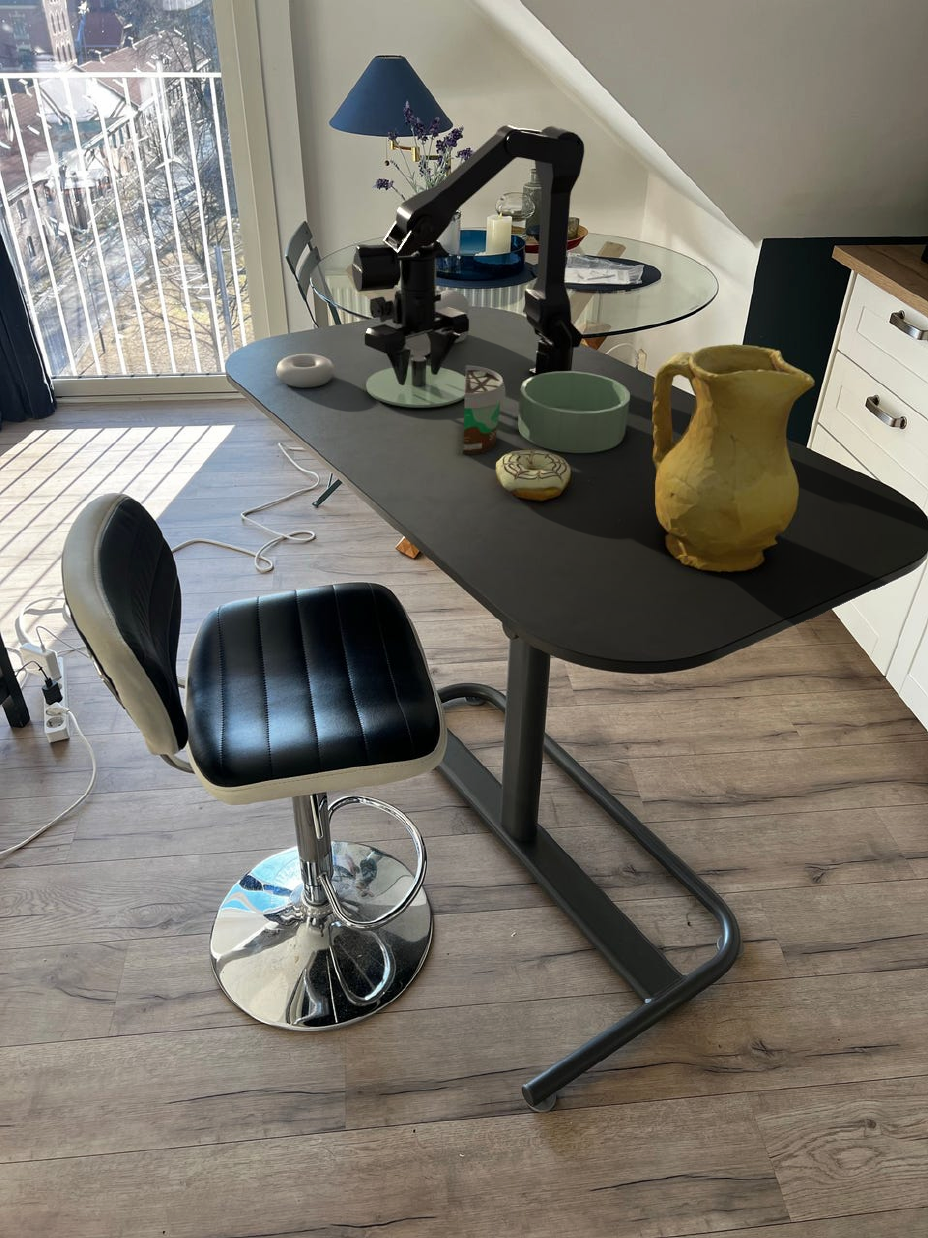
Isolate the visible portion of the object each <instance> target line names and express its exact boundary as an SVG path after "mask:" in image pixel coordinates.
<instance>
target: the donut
mask: <svg viewBox="0 0 928 1238" xmlns="http://www.w3.org/2000/svg"><path fill="white" fill-rule="evenodd" d="M334 373H335V366H334V364H333V362H332V361H331V360H330V359H328V358H327V357H325V356H323V355H319V354H316V353H315V354H314V353H313V354H312V353H297V354H293V355H292V354H291V355H289V356H286V357H284V358H282V359H281V360H280V361H279V362H278V364H277V365H276V375H277V377H278V379H279V380H280V381H281V382H282V383H284V384H286V385H288V386H291V387H294V388H315V387H319V386H322V385H325V384H327V383H328V382H329V381H331V380H332V379H333V377H334Z"/></svg>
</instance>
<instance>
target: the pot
mask: <svg viewBox="0 0 928 1238" xmlns="http://www.w3.org/2000/svg"><path fill="white" fill-rule="evenodd" d="M518 401H519V404H518V416H517V417H518V419H517V429H518V431H519V433H520V435H521V436H522V438H524V439H525V440H527V441H528V442H529V443H531V444H534V445H536V446H538V447H540V448H544V449H547V450H552V451H554V452H555V451H556V452H561V453H571V454H591V453H598V452H602V451H606V450H609V449H612V448H615V447H616V446H618V445H619V444H621V442H622V441H623V440H624V438H625V434H626V430H627V429H626V428H627V423H628V422H627V420H628V414H629V407H630V401H631V393H630V391H629V390H628V388H627V387H626V386H624V385H623V384H621V383H620V382H618V380H615V379H612V378H609V377H607V376H604V375H600V374H595V373H590V372H585V371H584V372H582V371H577V372H574V371H557V372H549V373H543V374H539V375H533V376H530V377H528V378H527V379H525V380H524V381H523V382H522V384H521V386H520V389H519V400H518Z"/></svg>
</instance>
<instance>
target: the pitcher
mask: <svg viewBox="0 0 928 1238" xmlns="http://www.w3.org/2000/svg"><path fill="white" fill-rule="evenodd" d="M676 376H682V377H683V378H685V379H687V380H688V382H689V385H690V386H691V389H692V391H693V394H694V397H695V400H694V409H693V412H692V414H691V417H690V420H689V424H688V426H687V427H686V429H685V431H684V432H683V434H682V435H681V436H680V438H678V440H677V441H674V439H673V422H672V421H673V420H672V406H671V393H672V385H673V383H674V378H675V377H676ZM814 386H815V380H814V378H813V377H812V376H811V374H809V373H806V372H805V371H803V370H801V369H799V368H797V367H795V366H793V365H791V364H789V363H788V362H786V361H785V360H784V358H783V355H782V352H781V351H780V350H776V349H774V348H768V347H767V348H766V347H760V346H757V345H748V344H735V343H734V344H723V345H722V344H720V345H711V346H706V347H702V348H699V349H697V350H696V351H694V352H689V351H688V352H687V351H684V352H679V353H676V354H675V355H673V356H672V357H670V358H669V359H668V361H666V362H664V364H662V365H661V366H660V368H658V370H657V372H656V374H655V376H654V383H653V396H654V400H653V402H652V415H651V417H652V418H651V422H652V424H653V432H652V434H653V435H652V439H653V441H654V446H653V450H652V462H653V464H654V467H655V471H656V475H655V476H656V477H655V482H654V493H655V497H654V498H655V499H654V500H655V501H654V504H655V510H656V512H655V513H656V517H657V520H658V522H659V524H660V525H661V526H662V527H663V528H664V530H666V532H667V533H668V534H666V535H665V546H666V548H667V550H668V552H669V553H670V555H671V556H673V557H674V558H675V559H676V560H679V561H680V562H681V564H683V565H685V566H689V567H690V566H691V567H694V568H695V569H697V570H701V571H711V572H717V573H721V572H729V573H731V572H735V571H737V572H741V571H748V570H751V569H754V568H756V567H759V566H760V565H761V564H762V563H764V561H765V556H764V553H763V551H764V550H766V549H767V548H770V547H772V546H775V545H777V544H778V541H777V540H776V537H777V536H778V534H780V533H783V532H785V530H786V529H787V527H788V526H789V524H790V523H791V521H792V519H793V517H794V516H795V515H794V514H795V513H796V510H797V507H798V500H799V494H800V492H799V486H800V485H799V482H798V481H799V480H798V477H797V474H796V471H795V468H794V465H793V464H792V460H791V457H790V453H789V449H788V448H789V447H788V446H787V445H788V443H787V427H788V422H789V419H790V418H789V417H790V413H791V411H792V408H793V405H794V403H795V401H797V400H798V398H800V397H801V396H802V395H804V393H806V392H807V391H809V390H810V389H811V388H812V387H814Z"/></svg>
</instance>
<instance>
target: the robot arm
mask: <svg viewBox="0 0 928 1238" xmlns="http://www.w3.org/2000/svg"><path fill="white" fill-rule="evenodd" d="M584 157H585V144H584V141H583V140H582V139H581V137H580V136H579V134H577V133H575V132H574V131H571V130H567V129H565V128H562V127H559V126H557V125H556V126H554V125H550V126H547V127H545V128H543V129H542V130H538V129H537V130H536V129H529V128H519V127H514V126H511V125H508V124H506V125H502V126H501V127H499V128H498V129H496V132H495V133H494V135H493V136H491V137H490V138H489V139H488V140H487V141H486V142H485V143H483V144H482V145H481V146H480V147H479V148H477V150H475V151H474V152H473V153H472V154H471V155H470V156H469V157H468V158H466V159H465V160H464V161H463V162H462V163H461V164H460V165H459V166H457V168H455V169H454V170H453V171H452V172H451V173H450V174H448V175H447V176H446V177H445V178H444V179H442V180H441V181H440V182H439V183H438V184H436V185H434V186H433V187H430V188H427V189H425V190H422V191H420V192H418V193H417V194H415V195H413V196H412V197H410V198H408V199H407V200H405V201H403V202H402V203H401V204H400V206H399V207H398V208H397V210H396V215H395V221H394V223H393V224H392V226H391V228H390V229H389V231H388V232H387V234H386V235H385V237H384V238H383V239H382V243H383V244H370V245H369V244H363V243H362V244H356V245H355V252H354V255H353V259H352V263H351V273H352V280H353V284H354V287H355V289H356V291H357V292H361V293H362V292H371V291H373V292H374V291H383V290H384V291H385V290H393V289H394V288H395V287H396V286H399V283H400V289H399V290H396V291H395V293H394V298H393V299H389V300H386V298H385V297H384V296H383V295H382V296H377V297H372V298H370V299H369V300H370V301H369V311H370V314H371V318H373V319H379V320H380V323H383V324H378V325H374V326H371V327H368V328H367V329H366V331H365V332H364V346H367V347H369V348H371V349H374V350H375V351H379V352H380V353H383V354H386V356H387V358H388V360H389V362H390V364H391V368H393V369H394V372H395V375H396V377H397V380H398V383H399V384H400V385H404V384H405V381H406V377H407V370H408V366H409V364H410V359H411V355H410V351H411V350H410V349H408V348H405V344H406V340H405V339H407V338H411V337H415V336H418V335H422V334H425V333H427V335H428V337H429V340H430V353H429V354H430V355H429V357H430V358H429V359H430V366H431V373H432V374H434V375H437V374H438V372H439V370H440V368H442V365H443V364H444V362H445V360H446V358H447V357H448V354H449V353H450V351H451V349H452V347H453V346H454V344H455V341H456V339H458V338H460V333H463V332H467V331H470V318H469V316H468V317H467V315H466V313H463V312H460V311H457V310H454V309H452V308H449V307H447V308H443V309H439V310H436V302H437V301H441V294H439V293H436V289H437V259H446V258H447V259H448V258H449V257H450V253H449V252H448V251H447V250H446V249H445V248H444V247H443V245H442V244H441V241H439V238H440V237H441V236H442V235H443V234H444V232H445V231H446V230H447V228H449V226H450V225H451V222H452V221H453V218H454V217H455V214H456V213H457V212H458V210H459V209H460V208H461V207H462V206H463V205H464V204H465V203H467V201H468V200H470V199H471V198H472V197H473V196H474V195H475V194H476V193H478V192H479V191H480V190H482V188H483V187H484V186H485V185H487V184H488V183H489V182H490V181H491V180H492V179H493V178H495V177H496V176H497V175H498V174H499V173H500V172H501V171H502V170H504V169H505V168H506V167H507V166H509V164H511V162H513V161H514V160H515V159H518V158H519V159H526V160H529V161H530V160H531V161H533V162H534V166H535V168H534V169H535V171H536V175H537V178H538V182H539V186H540V189H541V194H540V195H541V196H540V197H541V198H540V215H539V234H538V236H539V237H538V254H537V255H538V257H537V272H536V273H537V275H536V281H535V283H534V284H533V286H532V288H531V289H528V288H527V289H526V288H525V289H524V293H523V295H524V305H523V309H522V313H523V314H524V315H525V318H526V321H527V322H528V324H529V325H530V326H531V327H532V328H533V332H534V334H535V335H536V336H538V337H540V340H539V341H538V342H537V350H536V355H535V367H533V368H530V369H529V371H528V373H530V375H531V374H532V375H533V376H536V375H539V374H543V373H549V372H557V371H574V372H578V371H577V370H574V369H573V357H574V348H579V347H580V345H581V342H582V340H583V337H584V335H583V334H582V333H581V331H580V330H579V329H578V328H577V327H576V326H575V325H574V324H573V323H572V319H573V318H572V310H571V309H572V307H571V306H572V305H571V300H570V297H569V294H568V290H567V287H566V282H565V281H566V280H565V279H566V267H567V254H568V253H567V252H568V239H569V237H568V236H569V225H570V224H569V223H570V208H571V195H572V191H573V189H574V187H575V185H576V183H577V182H578V179H579V178H580V175H581V170H582V165H583V161H584ZM390 320H392V324H394V325H396V324H401V328H397V329H396V327H393V326H390V325H389V324H386V323H384V322H386V321H390Z"/></svg>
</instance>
